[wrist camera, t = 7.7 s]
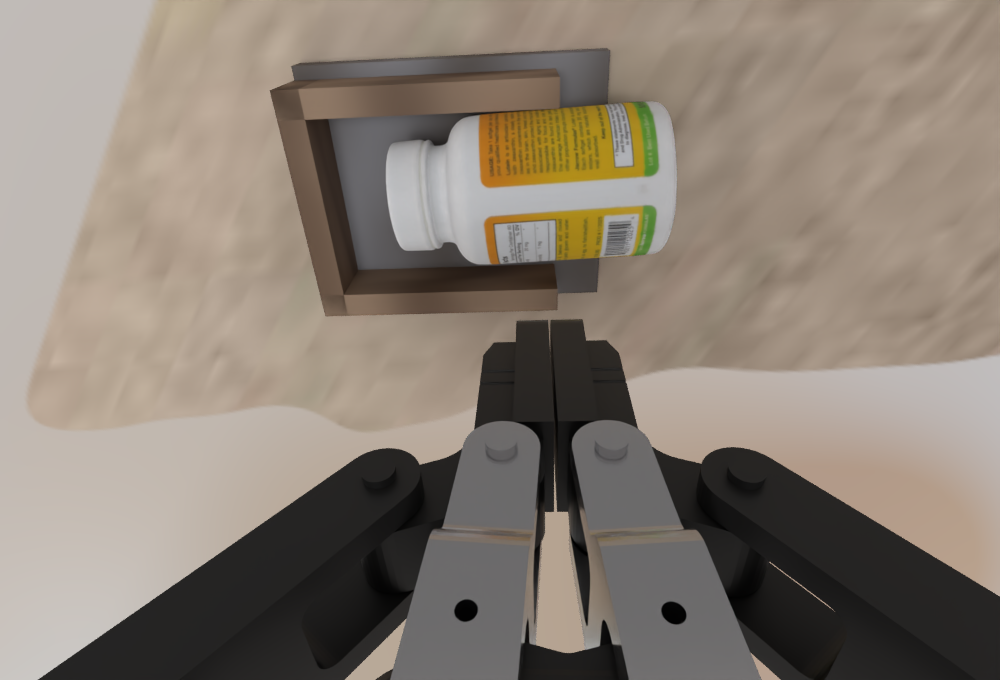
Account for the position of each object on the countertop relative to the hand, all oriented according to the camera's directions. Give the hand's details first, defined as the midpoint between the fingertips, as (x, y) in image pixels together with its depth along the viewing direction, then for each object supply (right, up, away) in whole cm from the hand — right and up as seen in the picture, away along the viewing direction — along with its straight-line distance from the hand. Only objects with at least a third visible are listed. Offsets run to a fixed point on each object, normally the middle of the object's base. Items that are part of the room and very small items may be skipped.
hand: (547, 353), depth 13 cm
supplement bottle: (+5, +6, +7) cm, 11 cm away
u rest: (-3, +7, +11) cm, 14 cm away
